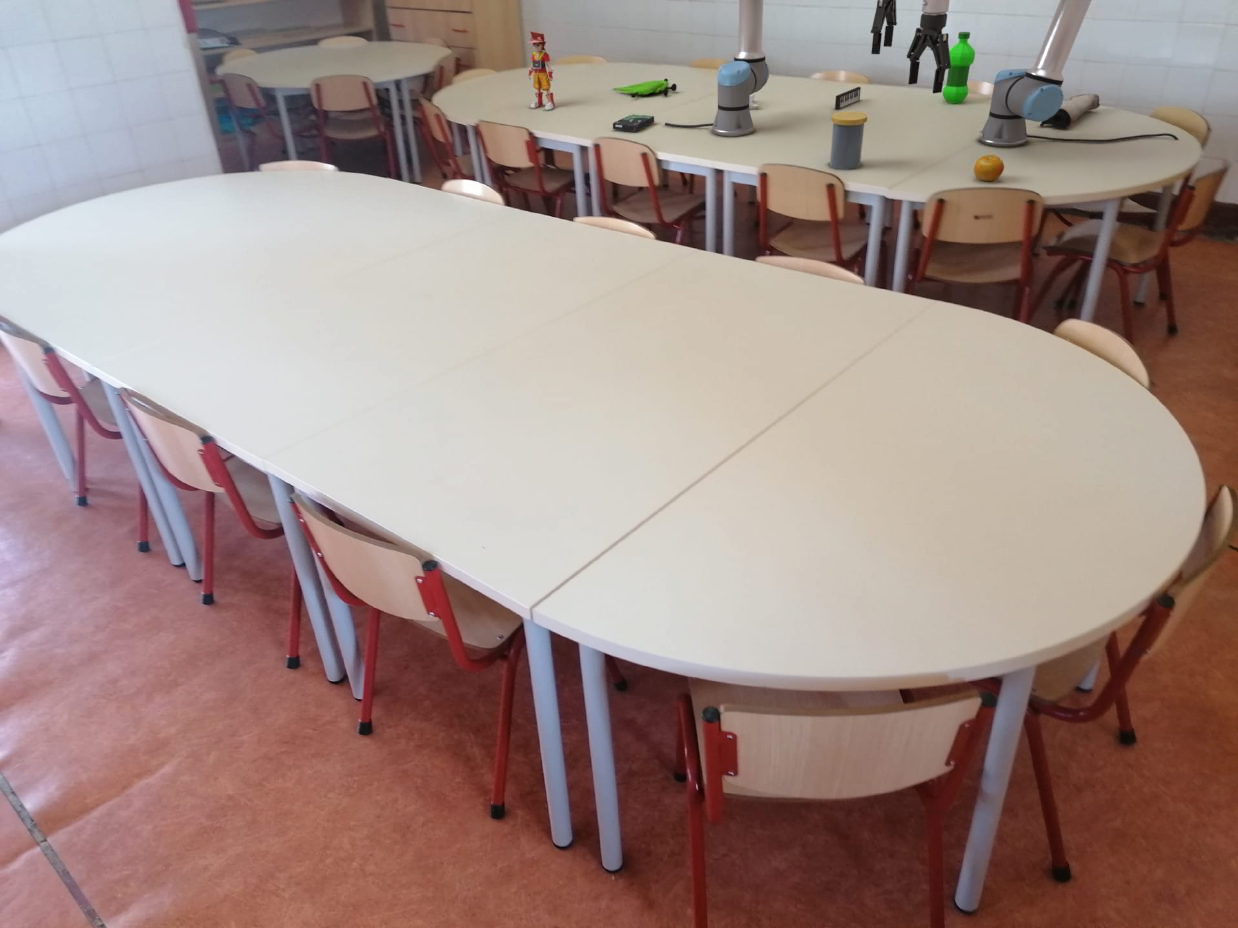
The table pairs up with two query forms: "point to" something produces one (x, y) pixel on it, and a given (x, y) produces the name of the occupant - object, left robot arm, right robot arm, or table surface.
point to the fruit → (988, 168)
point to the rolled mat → (1072, 110)
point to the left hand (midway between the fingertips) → (881, 50)
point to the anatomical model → (751, 104)
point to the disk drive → (633, 123)
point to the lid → (849, 118)
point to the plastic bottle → (959, 70)
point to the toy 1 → (541, 71)
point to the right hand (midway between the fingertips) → (924, 88)
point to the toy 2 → (648, 88)
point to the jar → (846, 146)
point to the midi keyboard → (847, 97)
